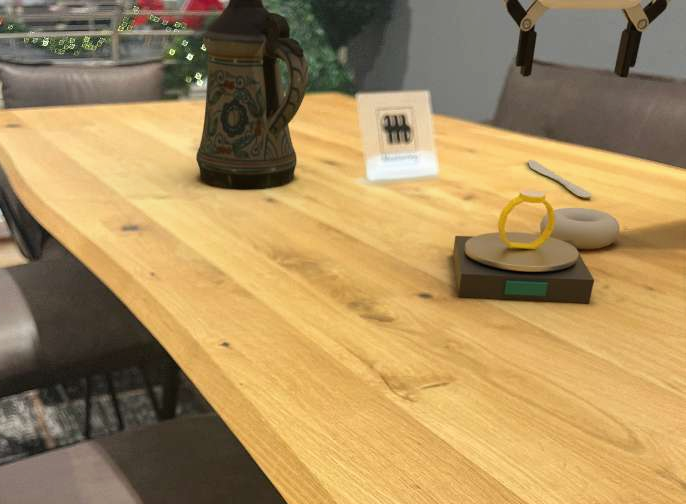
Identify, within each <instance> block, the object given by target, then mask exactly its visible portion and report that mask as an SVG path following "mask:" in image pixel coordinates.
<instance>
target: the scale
mask: <svg viewBox="0 0 686 504" xmlns="http://www.w3.org/2000/svg"><path fill="white" fill-rule="evenodd" d="M475 236H476V235H475ZM475 236H474V235H473V236H472V235H455V236H454V242H453V251H452V260H453V268H454V276H455V282H456V289H457V296H458V298H470V299H471V298H472V299H492V300H493V299H494V300H515V301H532V302H533V301H535V302H553V303H573V304H574V303H575V304H590V300H591V297H592V292H593V288H594V283H595V279H594V277H593V275H592V273H591V271H590V270H589V268H588V267H587V265H586V263H585V261H584V259H583V258H582V256H581V254H580V252H579V251H578V253H579V255H578V260H577V262H576V263H575V264H574V265H572V266H570V267H568V268H564V269H560V270H555V271H545V272H525V271H514V270H506V269H501V268H496V267H492V266H488V265H485V264H482V263H480V262H477V261H475V260H473V259H472V258H470V257H469V256H468V255H467V254H466V253H465V243H466V242H467V241H468V240H469V239H470V238H472V237H475ZM561 241H564V242H566V243H568V244H570V245H572V246H574V247H575V245H574V244H573V242H572V241H570V240H561ZM575 248H576V247H575Z"/></svg>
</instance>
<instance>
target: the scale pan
mask: <svg viewBox="0 0 686 504" xmlns="http://www.w3.org/2000/svg"><path fill="white" fill-rule="evenodd" d="M541 235H542V234H537V233H529V232H516V231H505V236H506V239H507V240H508V241H509V242H515V243H528V244H530V243H532V242H533V241H535V240H536V239H538V238H539V237H540V236H541ZM578 250H579V249H576V248H575V247H574V246H572V245H570V244H568V243H566V242H564V241H561V240H559V239H555V238H552V237H549V238H548V239H547V241H546V242H544V244H542V245H541V246H539V247H538V248H536V249H535V250H534V249H522V248H519V249H518V248H509V247H508V246H507V244H506V243H505V242H504V241H503V240H502V238H501V237H500V235H499V231H497V232H488V233H482V234H478V235H475V237H472V238H470V239H469V240H468V241H467V242H466V243H465V253H466V254H467V255H468V256H469V257H470V258H472V259H473V260H475V261H477V262H480V263H482V264H485V265H488V266H492V267H496V268H501V269H506V270H514V271H525V272H545V271H555V270H560V269H564V268H568V267H570V266H572V265H574V264H575V263H576V262H577V260H578V255H579V254H580V252H579V251H578ZM578 252H579V253H578Z"/></svg>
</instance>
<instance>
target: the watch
mask: <svg viewBox="0 0 686 504" xmlns="http://www.w3.org/2000/svg"><path fill="white" fill-rule="evenodd" d="M518 194H519V195H518V196H516V197H515V198H512V199H511V200H510V201H508V203H507V204H506V205H505V207H504V208H503V209H502V211H501V212H500V216H499V219H498V222H497V228H498V232H499V235H500V237H501V238H502V240H503V241H504V242H505V243H506V244H507V246H508V247H509V248H518V249H519V248H522V249H534V250H535V249H536V248H538V247H539V246H541V245H542V244H544V242H546V241H547V239H548V238H549V236H550V235H551V233H552V231H553V228H554V223H555V215H554V208H553V206H552V204H550V202H548V200H546V196H547V195H546V193H544V192H542V191H537V190H529V189H528V190H527V189H526V190H520V192H519V193H518ZM522 203H530V204H543V205H544V206H545V209H546V213H547V214H548V221H547V227H546V229H545V230H544V232H543V233H541V234H540V235H541V236H540V237H539V238H538V239H536V240H535V241H533V242H532V243H530V244H528V243H515V242H509V241H508V240H507V239H506V236H505V232H506V229H505V225H506V223H507V218H508V215H510V213H511V212H512V211H513V210H514V209H515V208H516V206H518V205H520V204H522Z"/></svg>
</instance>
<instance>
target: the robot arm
mask: <svg viewBox="0 0 686 504" xmlns="http://www.w3.org/2000/svg"><path fill="white" fill-rule="evenodd" d="M502 1H503V5H504V8H505V10H506V11H507V13H508V14H509V16H510V18H512V20H513V21H514V22H515V24H516V25H517V28H519V35H518V44H517V50H516V58H515V67H520V75H521V76H522V77H523V78H527V77H530V76H532V71H533V63H534V57H535V51H536V42H537V36H538V31H537V32H536V31H535V30H536V29H535V28H536V23H537V22H538V21H539V20H540V19H541V18H542V17H543V15H544V14H545V13H547V11H548V10H549V9H554V10H555V9H556V10H620V11H621V13H622V14H623V16H624V19H625V20H626V22H627V23H626V28H624V29H623V30H622V31H621V35H620V39H619V40H620V41H619V45H618V50H617V54H616V59H615V60H616V61H615V65H614V71H613V73H614V74H615V75H617V76H618V77H620V78H628V77H629V73H630V68H635V66H636V63H637V59H638V54H639V49H640V44H641V40H642V35H643V32H644V31H646V30H647V29H648V27H649V26H650V24H652V23H653V22H654V21H655V20H656V19H657V18H659V16H660V15H662V14H663V13H664V12H665V10H666V9H667V7H668V5H669V4H670V2H671V1H672V0H650V2H649V3H648V4H646V5H645V6H644V7H642V5H641V3H642V2H643V0H533V1H532V2H531V3H530V4H529V6H528V7H527V8H526V9H525V8H524V7H523V5H522V3H520V1H519V0H502Z"/></svg>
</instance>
